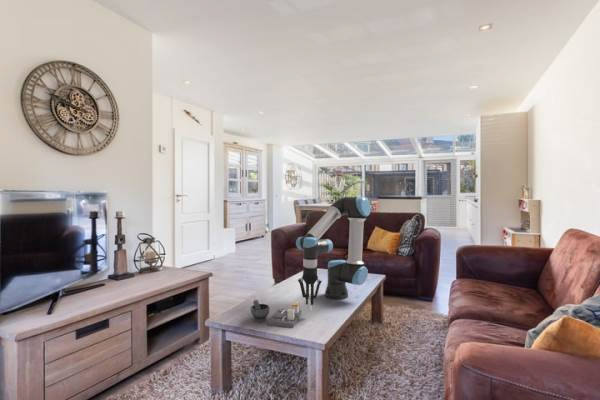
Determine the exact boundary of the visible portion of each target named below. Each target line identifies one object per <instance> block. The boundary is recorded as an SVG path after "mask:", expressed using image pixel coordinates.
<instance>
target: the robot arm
mask: <svg viewBox="0 0 600 400" xmlns="http://www.w3.org/2000/svg"><path fill="white" fill-rule="evenodd" d="M371 210H372V207H371V203H370V201H369V199H368V198H366V197H365V196H344V197H340V198H339V199H337V200H335V202H333V203H331V205H329V207H328V208H327V212H325V213H324V214H323V216H321V218H320V219H319V220H318V221H317V222H316V223H315V224H314V225H313V226H312V227H311V228H310V229H309V231H308V232H307V233H306V234H305V235H304V236H299V237H297V239H296V241H295V245H296V248H297V249H299V250H301V251H303V253H302V254H303V256H302V257H303V259H302V260H303V261H302V263H303V264H302V266H303V267H302V277H299V278H298V279H297V282H298V283H299V287H300V291H301V295H302V298H305V304H306V305H307V312H308V313H310V312H311V311H312V308H313V307H312V306H313V305H314V301H315V299H316V298H317V297H318V294H319V290H320V286H321V284H322V282H323V280H322V279H320V278H319V276H318V255H322V254H327V253H331V252H332V251H333V248H334V244H333V242H332V240H331V239H329V238H323V239H321V238H322V236H323V235H324V234H325V233H326V232H327V231H328V229H330V227H331V226H332V225H333V224H334V223H335V222H336V220H337V219H341V217H342V216H347V219H348V220H349V229H348V230H349V231H348V233H349V234H348V235H349V236H348V250H347V251H348V255H347V256H348V257H347V259H346V260H345V259H332V260H330V261H328V262H327V283H326V288H325V291H324V297H326V298H327V299H331V300H344V299H347V298H348V297H349V291H348V287H347V283H348V284H351V285H354V286H362V285H363V284H365V282H366V281H367V278H368V275H369V270H368V268H367V267H366V266H365V262H364V261H363V244H364V224H365V223H364V222H365V221H366V220H367V217H368V216H369V215H370V214H371V212H372V211H371ZM315 283H317V285H316V288H315ZM304 284H305V286H304Z"/></svg>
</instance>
